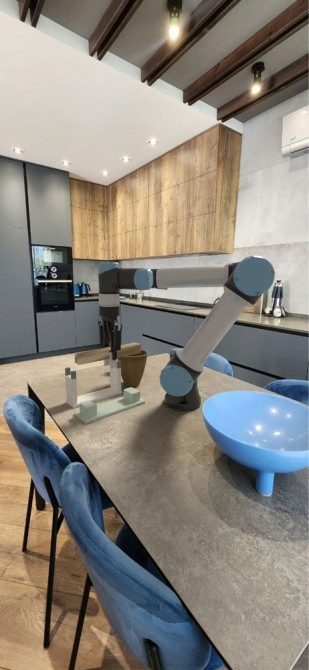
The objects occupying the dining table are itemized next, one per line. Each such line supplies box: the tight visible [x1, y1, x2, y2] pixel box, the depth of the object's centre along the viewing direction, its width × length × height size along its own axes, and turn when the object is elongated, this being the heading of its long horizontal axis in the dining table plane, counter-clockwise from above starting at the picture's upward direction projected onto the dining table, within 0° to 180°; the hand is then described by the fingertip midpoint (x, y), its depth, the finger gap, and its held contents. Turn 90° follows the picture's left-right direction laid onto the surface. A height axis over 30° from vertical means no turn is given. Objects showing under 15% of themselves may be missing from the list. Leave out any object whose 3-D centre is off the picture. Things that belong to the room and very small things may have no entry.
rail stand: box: [64, 360, 123, 409], centre depth 120 cm, size 7×23×15 cm, turn 131°
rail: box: [73, 342, 142, 366], centre depth 107 cm, size 4×27×4 cm, turn 131°
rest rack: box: [73, 387, 146, 425], centre depth 111 cm, size 9×27×5 cm, turn 131°
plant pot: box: [117, 349, 149, 388], centre depth 136 cm, size 15×15×16 cm
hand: (110, 366), depth 108 cm, fingers closed on rail, 3 cm apart
